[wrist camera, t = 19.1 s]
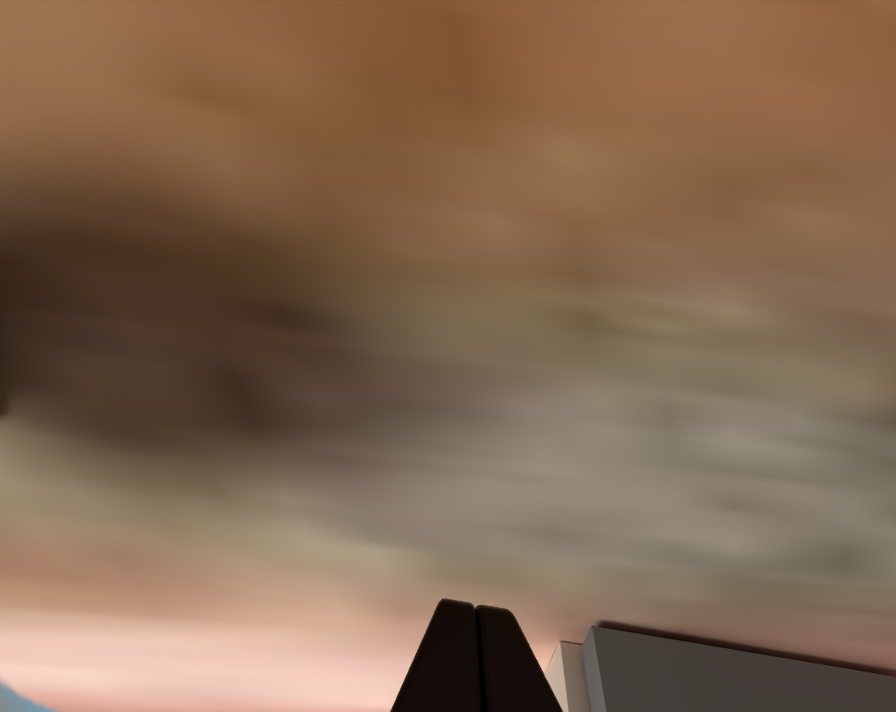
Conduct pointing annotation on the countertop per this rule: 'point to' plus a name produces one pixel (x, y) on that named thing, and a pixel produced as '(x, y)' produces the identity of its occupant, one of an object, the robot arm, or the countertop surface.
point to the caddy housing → (569, 678)
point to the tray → (719, 679)
